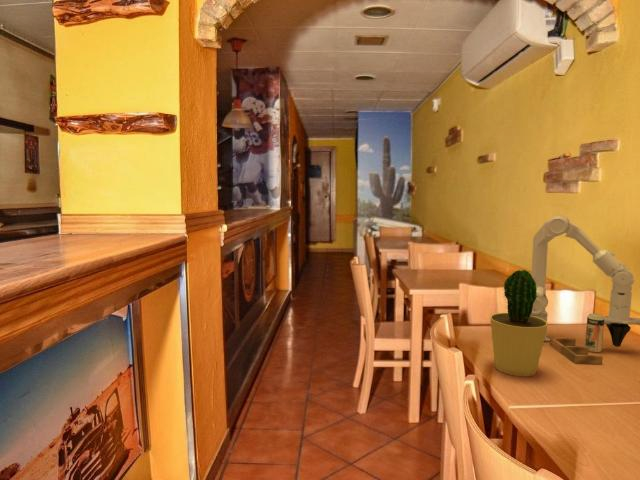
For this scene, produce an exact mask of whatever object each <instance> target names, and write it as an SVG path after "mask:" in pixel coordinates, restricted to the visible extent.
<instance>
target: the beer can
mask: <svg viewBox="0 0 640 480" xmlns="http://www.w3.org/2000/svg"><path fill="white" fill-rule="evenodd" d="M603 317H604V315H602V314H599V313H588V315H587V317H586V330H585V339H584V340H585V341H584V343H585V344H584V346H586V347H588V352H590V353H600V352H602V350H603V340H604V339H603V338H604V330H605V329H604V327H605V324H604V318H603Z"/></svg>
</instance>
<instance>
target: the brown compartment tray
mask: <svg viewBox="0 0 640 480" xmlns="http://www.w3.org/2000/svg"><path fill="white" fill-rule="evenodd" d="M549 339H550V341H549V346H550V347H551V348H553V349H555V350H556V352H557V351H558V352H559V353H560V354H561V355H562V356H564V357H565V358H566V359H568V360H569V361H570V362H572V363H573V364H575V365H578V364H579V365H603V359H604V356H602V355H599V354H597V355H595V354H589V351H588V347H586V346H585V345H584V346H581V345H579V346H578V345H576V341H577V339H575V338H572V337H571V338H568V337H567V338H564V337H562V338H561V337H550V338H549Z"/></svg>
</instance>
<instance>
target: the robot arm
mask: <svg viewBox="0 0 640 480" xmlns="http://www.w3.org/2000/svg"><path fill="white" fill-rule="evenodd" d="M563 234H565V235H564V237H566V238H569V239H574V240H575V241H576V242H577V243H579V244H580V246H582V247H583V248H584V250H586V251H587V252H588V253H589V254H590V255H591V256H592V262H593V263H594V265H596V266H597V267H598V268H599V269H600V270H601V272H603V274H605V275H606V276H607V277H610V278H611V281H612V284H611V285H612V288H611V290H610V297H609V308H608V309H609V310H608V316H603V318H604V325H606V327H607V329H608V332H609V334H610V338H611V343H612V346H614V347H616V348H619V347H621V346H622V343H623V341H624V339H625V337H626V336H627V334H628V332H630V331H631V326H632V325H633V326H634V325H635V326H636V325H637V326H640V317H630V315H631V308H632V307H631V306H632V294H633V292H632V291H633V288H632V287H633V286H632V285H633V284H634V282H635V279H634V275H633V272H632V271H631V270H630V268H628V267H627V265H626V264H625V263H622V262H621V261H620V260H618V258H617V257H615V253H614V252H613V251H611V252H610V251H609V250H608V249H601V248H600V247H599V246H598V245H597V244H596V243H595V242H594V241H593V240H592V238H590V237H589V236H588V235H587V234H586V232H584V231H583V229H582V228H581V227H579V226H578V225H577V224H576V223H574V222H573V221H570V220H569V218H567V216H564V215H559V214H558V215H556V216H553V217H552V218H550V219H548V220H547V221H544V223H543V224H542V226H540V228H539V229H538V230H537V232H535V234H534V235H533V239H532V256H531V272H530V274H531V275H532V278H533V279H535V280H534V281H535V282H536V281H537V283H536V287H537V286H538V287H539V288H536V289H537V291H536V292H537V293H538V294H536V295H537V296H538V297H537V298H536V300H535V301H534V303H533V308H532V313H533V314H532V313H531V316H535V317H538V318H541V319H543V320H545V321H547V322H548V315H549V314H548V312H547V311H546V308H547V306H548V304H549V300H548V297H547V295H546V294H547V293H546V288H547V287H546V282H547V281H546V279H547V267H548V266H547V265H548V264H547V263H548V248H549V242H551V241H552V240H553V239H555V238H556V237H559V236H561V235H563ZM535 309H536V310H535ZM630 325H631V326H630ZM544 342H550V338H549V337H548V336H547V333H546V334H545V338H544Z"/></svg>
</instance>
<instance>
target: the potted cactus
mask: <svg viewBox="0 0 640 480" xmlns="http://www.w3.org/2000/svg"><path fill="white" fill-rule="evenodd" d="M530 271H531V269H530V270H526V269H523V268H521V269H517V270H513V272H512V274H509V273H507V274H508V276H507V278H506V279H505V280H503V284H504V285H503V287H504V288H503V289H502V291H504V293H503V297H504V299H505V303H506V304H507V305H506V307H505V309H507V312H497V313H493V314H491V315H490V317H489V318H490V328H491V329H490V330H491V340H492V347H493V348H492V349H493V361H494V368H495V369H496V370H498V371H499V372H501V373H504V374H506V375H510V376H515V377H531V376H534V375H537V374H536V373H537V370H538V367H539V363H540V360H541V359H540V358H541V355H542V349H543V346H544V342H545V341H544V338H545V334H546V335H547V330H548V328H547V327H548V325H549V323H548V320H547V321H545V320H543V319H541V318H538V317H535V316H531V313H532V308H533V303H534V301H535V300H536V298H537V297H538V296H537V295H536V294H538V293H537V292H536V291H537V289H536V288H539V287H538V286H537V287H536V283H537V281H536V282H535V281H534V280H535V279H533V278H532V275H531V272H530ZM535 310H536V309H535ZM532 314H533V313H532Z"/></svg>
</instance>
